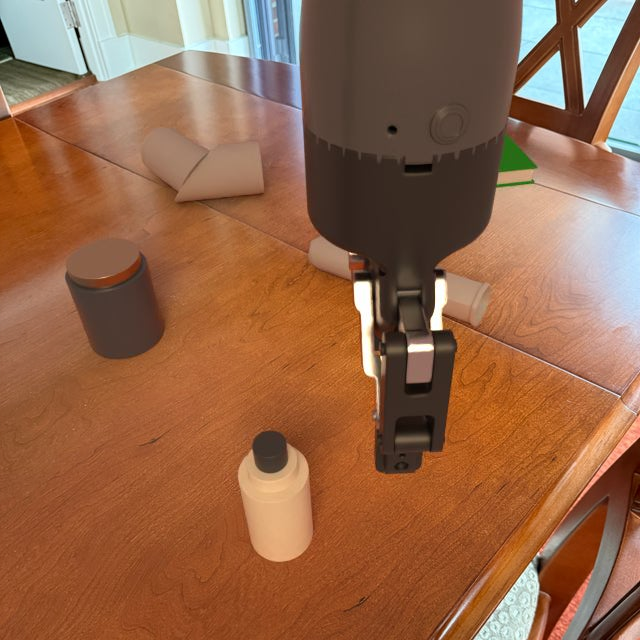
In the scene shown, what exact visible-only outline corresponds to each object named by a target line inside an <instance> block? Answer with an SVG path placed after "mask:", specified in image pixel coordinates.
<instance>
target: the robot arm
mask: <svg viewBox="0 0 640 640" xmlns="http://www.w3.org/2000/svg"><path fill="white" fill-rule="evenodd" d="M523 10H524V0H301V4H300V15H299V27H298V28H299V30H298V32H299V33H298V60H299V61H298V63H299V82H300V99H301V117H302V120H301V121H302V135H303V156H304V175H305V193H306V209H307V210H306V211H307V215H308V218H309V220H310V223H311V224H312V226H313V228H314V229H315V230H316V232H317V233H318V234H319V236H322V237H324V238H325V239H326V240H327V241H329V242H330V243H332V244H333V245H335V246H337V247H338V248H340V249H343V250H345V251H347V252H348V260H349V270H351V281H350V282H351V289H352V292H351V293H352V304H353V306H354V308H355V309H356V310H357V311H358V320H359V345H360V365H361V368H362V370H363V371H364V373H365V375H366V376H368V377H369V378H372V383H373V385H372V386H373V405H374V406H373V409H371V419H372V422H374V444H373V445H374V448H373V458H374V467H375V470H376V471H377V472H379V473H382V474H384V475H399V474H415V473H416V471H418V470H419V469H420V468H422V463H423V454H424V452H429V453H442V452H443V450H444V444H445V443H446V427H447V420H448V413H449V406H450V397H451V391H452V382H453V375H454V368H455V367H454V366H455V359H456V353H457V352H458V342H457V339H456V338H455V335H454V332H453V330H452V329H451V328H447V329H446V328H445V329H443V313H442V309H443V307H444V306H445V304H446V302H447V276H446V272H447V271H446V270H447V269H446V268H445V266H438V265H439V264H441V262H443V261H444V260H446V259H447V258H448V257H450V256H451V255H453V254H454V253H457V252H458V251H460V250H462V249H464V248H466V247H467V246H469V245H471V244H472V243H474V242H475V241H476V240H477V239H479V238H480V237H481V235H482V234H483V233H485V231H486V229H487V227H488V226H489V223H490V222H491V219H492V215H493V209H494V202H495V197H496V191H497V187H496V186H497V181H498V175H499V169H500V163H501V157H502V152H503V146H504V140H505V135H506V134H507V127H508V123H509V117H510V111H511V105H512V101H513V100H512V99H513V94H514V87H515V83H516V78H517V77H516V76H517V71H518V64H519V61H520V54H521V53H520V52H521V44H522V36H523V35H522V33H523V17H524V15H523V13H524V11H523ZM377 352H379V354H378V353H377Z"/></svg>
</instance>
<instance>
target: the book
mask: <svg viewBox="0 0 640 640" xmlns="http://www.w3.org/2000/svg"><path fill="white" fill-rule="evenodd" d="M536 169H538V165H537V164H536V163H535V162H534V161H533V160H532V159H531V158H530V157H529V156H528V155H527V153H525V152H524V150H523V149H522V148H521V147H520V146H519V145H518V144H517V142H515V141H514V140H513V139H512V138H511V137H510V135H508V134H507V133H506V135H505V140H504V146H503V152H502V157H501V163H500V169H499V175H498V181H497V186H496V188H503V187H511V186H512V187H513V186H519V185H520V186H522V185H531V184H535V180H533V176H534V172H535V170H536Z"/></svg>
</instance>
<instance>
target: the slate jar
mask: <svg viewBox="0 0 640 640" xmlns="http://www.w3.org/2000/svg"><path fill="white" fill-rule="evenodd" d="M65 269H66V271H65V275H64V279H65V283H66V285H67V288H68V291H69V293H70V296H71V299H72V301H73V304H74V306H75V308H76V309H75V310H76V311H77V314H78V316H79V319H80V322H81V324H82V328H83V330H84V332H85V335H86V337H87V340H88V343H89V345H90V347H91V349H92V350H93V352H94V353H95V354H97V355H98V356H100V357H102V358H105V359H111V360H124V359H125V360H126V359H130V358H134V357H137V356H140V355H142V354H145V353H147V352H148V351H149V350H151V349H152V348H154V347H155V346H156V345H157V344H158V343H159V342H160V340H161V339H162V338H163V335H164V332H165V324H164V320H163V316H162V312H161V309H160V305H159V301H158V298H157V293H156V289H155V287H154V286H155V285H154V283H153V278H152V274H151V271H150V268H149V265H148V260H147V258H146V256H145V254H144V253H143V252H142V251H140V248H139V246H138V245H137V244H136V243H135V242H133V241H131V240H129V239H126V238H122V237H121V238H119V237H108V238H107V237H106V238H101V239H96V240H93V241H89V242H87V243H85V244H83V245H81V246H79V247H77V248H76V249H75V250H74V251H72V252H71V253H70V254H69V256H67V259H66V260H65Z"/></svg>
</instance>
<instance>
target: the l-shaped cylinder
mask: <svg viewBox="0 0 640 640" xmlns="http://www.w3.org/2000/svg"><path fill="white" fill-rule="evenodd" d="M260 148H261V147H260V143H259V140H251V141H243V142H242V141H241V142H230V143H219V144H216V145H215V146H214V147H213V148H211V150H209V149H208V148H206V147H204V146H202V145H201V144H199V143H198V142H196V141H194V140H193V139H191V138H189V136H186V135H185V134H183V133H182V132H180V131H178V130H177V129H175V128H173V127H170V126H158V127H155V128H154V129H152V130H151V131H149V132H148V133H147V134H146V136H145V137H144V139H143V140H142V142H141V146H140V158H141V160H142V163H143V165H144V167H145V168H146V169H147V170H148V171H150V172H151V173H152V174H154V175H155V176H157V177H158V178H159V179H160V180H162V181H163V182H164V183H166V184H167V185H168V186H170V187H171V188H173V189H174V190H175V191H176V192H177V194H176V196H175V197H174V203H182V202H184V203H185V202H191V201H194V202H195V201H201V200H210V199H220V198H231V197H240V196H241V197H242V196H251V195H259V194H260V195H261V194H265V182H264V174H263V164H262V157H261V149H260Z"/></svg>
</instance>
